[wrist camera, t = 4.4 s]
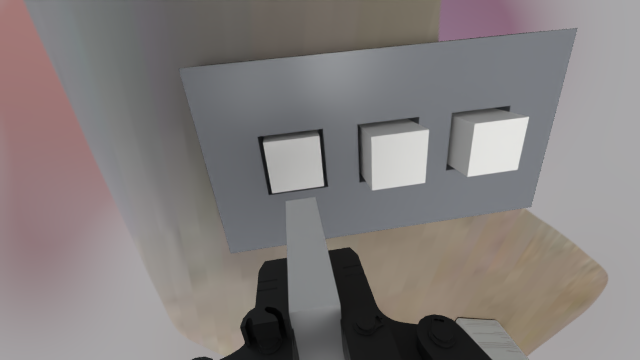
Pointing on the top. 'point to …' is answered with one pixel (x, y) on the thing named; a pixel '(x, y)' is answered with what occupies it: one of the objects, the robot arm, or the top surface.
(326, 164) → the console
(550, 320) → the top surface
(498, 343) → the supplement box
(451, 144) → the button
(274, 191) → the button
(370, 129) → the button
